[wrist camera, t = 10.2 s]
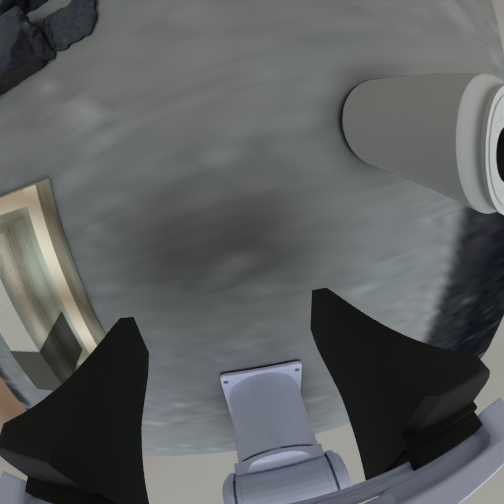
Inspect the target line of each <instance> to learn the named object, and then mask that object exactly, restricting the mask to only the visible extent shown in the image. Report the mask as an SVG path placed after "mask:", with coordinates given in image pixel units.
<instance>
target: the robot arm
mask: <svg viewBox="0 0 504 504" xmlns="http://www.w3.org/2000/svg"><path fill="white" fill-rule="evenodd" d="M311 331H312V334H313V337H314V340H315V343H316V346H317V348H318V351H319V353H320V355H321V357H322V359H323V361H324V363H325V365H326V367H327V368H328V370H329V372H330V374H331V376H332V378H333V380H334V382H335V384H336V386H337V388H338V390H339V392H340V395H341V397H342V399H343V402H344V405H345V408H346V411H347V413H348V416H349V419H350V422H351V425H352V428H353V432H354V435H355V438H356V442H357V445H358V449H359V453H360V457H361V461H362V464H363V469H364V474H365V479H366V481H364V482H361V483H359V484H356V485H353V486H352V483H351V479H350V476H349V474H348V471H347V468H346V466H345V464H344V462H343V460H342V458H341V456H340V455H338V454H337V453H335V452H333V451H331V450H329V451H326V452H324V451H323V448H322V446H321V444H318V443H317V441H316V438H315V435H314V432H313V429H312V426H311V423H310V420H309V417H308V414H307V411H306V409H305V406H304V403H303V400H302V397H301V394H300V389H301V374H302V364H301V362H300V361H294V362H289V363H284V364H279V365H274V366H269V367H263V368H257V369H251V370H245V371H239V372H232V373H225V374H222V375H221V376H220V381H221V384H222V388H223V391H224V395H225V398H226V401H227V405H228V408H229V412H230V415H231V418H232V421H233V428H234V435H235V441H236V448H237V454H238V461H239V463H235V464H234V466H235V473H231V474H229V475H228V477H227V479H226V480H225V481H224V484H223V501H224V504H358V503H361V502H364V501H366V500H369V499H371V498H374V497H376V496H379V495H380V496H379V497H377V498H375V499H373V500H371V501H369V502H367V503H364V504H460V503H461V502H462V501H464V500H465V499H466V498H468V497H469V496H470V495H471V494H472V493H474V492H475V491H476V490H477V489H478V488H479V487H481V486H482V485H483V484H484V483H485V482H486V481H487V480H488V479H490V478H491V477H492V476H493V475H494V474H495V473H496V472H497V471H498V470H499V469H500V468H501V467H502V466H503V465H504V401H503V400H502V399H501V398H499V399H497V400H496V401H495V402H494V403H492V404H491V405H490V406H489V407H487V408H486V409H485V410H484V411H482V412H481V413H480V414H479V415H478V416H477V415H476V414H475V412H474V411H475V410H476V409H477V406H476V404H475V403H474V402H473V401H474V399H475V398H476V396H477V395H478V394H479V392H480V391H481V389H482V388H483V387H484V385H485V384H486V382H487V380H488V378H489V373H490V370H489V369H488V368H487V367H486V366H485V364H484V363H483V362H482V361H481V360H480V358H479V357H478V356H477V355H473V354H467V353H461V352H455V351H450V350H446V349H442V348H439V347H435V346H432V345H429V344H426V343H423V342H420V341H417V340H415V339H412V338H410V337H407V336H405V335H403V334H401V333H399V332H396V331H394V330H392V329H390V328H388V327H386V326H384V325H383V324H381V323H379V322H377V321H376V320H374V319H372V318H371V317H369V316H367V315H366V314H364V313H363V312H361V311H360V310H358V309H357V308H355V307H354V306H352V305H351V304H349V303H348V302H346V301H345V300H343V299H342V298H341V297H339V296H338V295H336V294H335V293H333V292H332V291H331V290H329V289H328V288H322V289H317V290H312V308H311ZM148 366H149V352H148V350H147V348H146V345H145V343H144V341H143V339H142V336H141V334H140V332H139V329H138V327H137V324H136V322H135V319H134V317H128V318H120V319H119V320H118V321H117V322H116V323H115V325H114V326H113V327H112V328H111V329H110V331H109V332H108V333H107V334H106V336H105V337H104V338H103V339H102V341H101V342H100V343H99V344H98V346H97V347H96V348H95V349H94V350H93V352H92V353H91V354H90V355H89V356H88V357H87V359H86V360H85V361H84V362H83V363H82V364H81V365H80V367H79V368H78V369H77V370H76V371H75V372H74V373H73V374H72V375H71V376H70V377H69V378H68V379H67V380H66V381H65V382H64V383H63V384H62V385H60V386H59V387H58V388H57V389H56V390H55V391H53V392H52V393H51V394H50V395H48V396H47V397H46V398H45V399H43V400H42V401H41V402H39V403H38V404H37V405H35V406H34V407H32V408H31V409H29V410H28V411H26V412H24V413H23V414H21V415H19V416H17V417H15V418H13V419H12V420H10V421H8V422H6V423H4V425H3V428H2V431H1V434H0V456H1V457H2V458H4V459H5V460H6V461H7V462H9V463H10V464H11V465H12V466H14V467H15V468H17V469H18V470H19V471H21V472H22V473H24V474H25V475H27V476H28V480H27V482H26V481H24V480H22V479H20V478H18V477H16V476H13V475H11V474H8V473H6V472H2V474H1V478H0V504H149V501H148V497H147V491H146V485H145V478H144V470H143V461H142V438H141V426H142V415H143V407H144V400H145V393H146V386H147V379H148Z"/></svg>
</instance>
